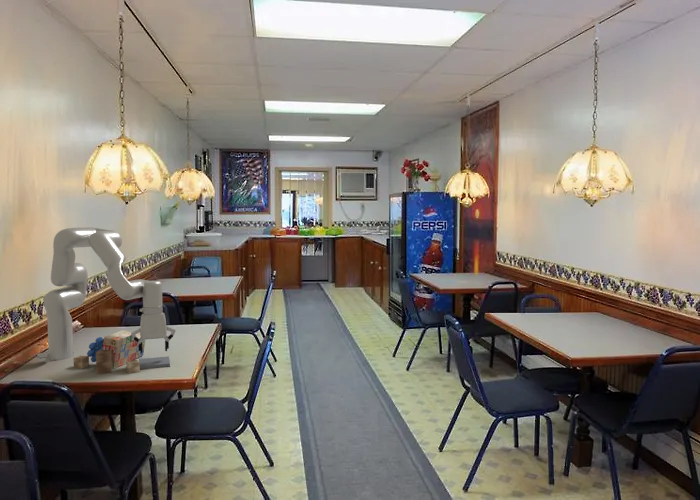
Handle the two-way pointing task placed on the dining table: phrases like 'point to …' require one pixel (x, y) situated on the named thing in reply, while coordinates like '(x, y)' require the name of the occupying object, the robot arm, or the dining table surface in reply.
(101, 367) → the walnut block
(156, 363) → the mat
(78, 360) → the oak cube
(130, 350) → the stack of blocks
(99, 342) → the grapes
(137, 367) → the maple cube
